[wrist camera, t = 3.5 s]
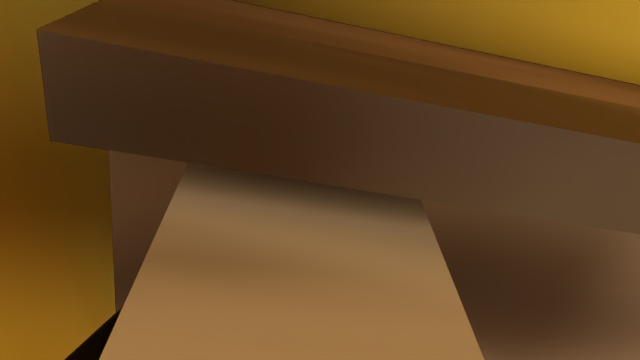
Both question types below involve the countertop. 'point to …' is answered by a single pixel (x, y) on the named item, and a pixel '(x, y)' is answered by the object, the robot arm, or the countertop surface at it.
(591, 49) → the countertop surface
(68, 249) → the countertop surface
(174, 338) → the block
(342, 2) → the countertop surface
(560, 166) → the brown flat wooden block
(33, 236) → the countertop surface
